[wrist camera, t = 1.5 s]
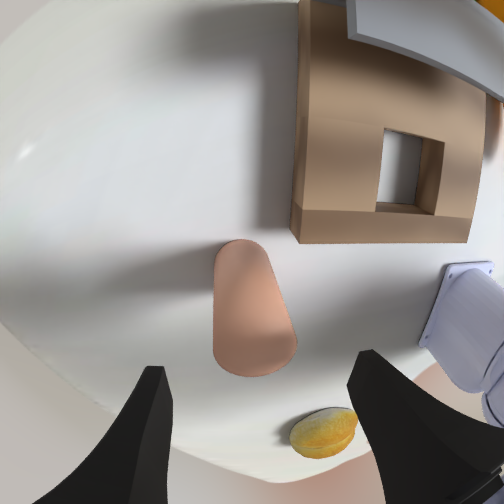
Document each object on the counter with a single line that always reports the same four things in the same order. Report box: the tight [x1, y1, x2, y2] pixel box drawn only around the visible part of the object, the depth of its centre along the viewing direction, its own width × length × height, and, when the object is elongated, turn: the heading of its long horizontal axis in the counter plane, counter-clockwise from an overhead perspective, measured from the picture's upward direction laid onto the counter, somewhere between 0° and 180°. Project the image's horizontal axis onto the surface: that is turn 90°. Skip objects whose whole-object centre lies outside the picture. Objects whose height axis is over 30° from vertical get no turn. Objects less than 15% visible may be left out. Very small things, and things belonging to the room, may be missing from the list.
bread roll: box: [289, 408, 358, 459], centre depth 28 cm, size 8×9×4 cm
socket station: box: [290, 0, 504, 244], centre depth 12 cm, size 15×14×8 cm
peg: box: [213, 239, 297, 377], centre depth 15 cm, size 4×4×8 cm
